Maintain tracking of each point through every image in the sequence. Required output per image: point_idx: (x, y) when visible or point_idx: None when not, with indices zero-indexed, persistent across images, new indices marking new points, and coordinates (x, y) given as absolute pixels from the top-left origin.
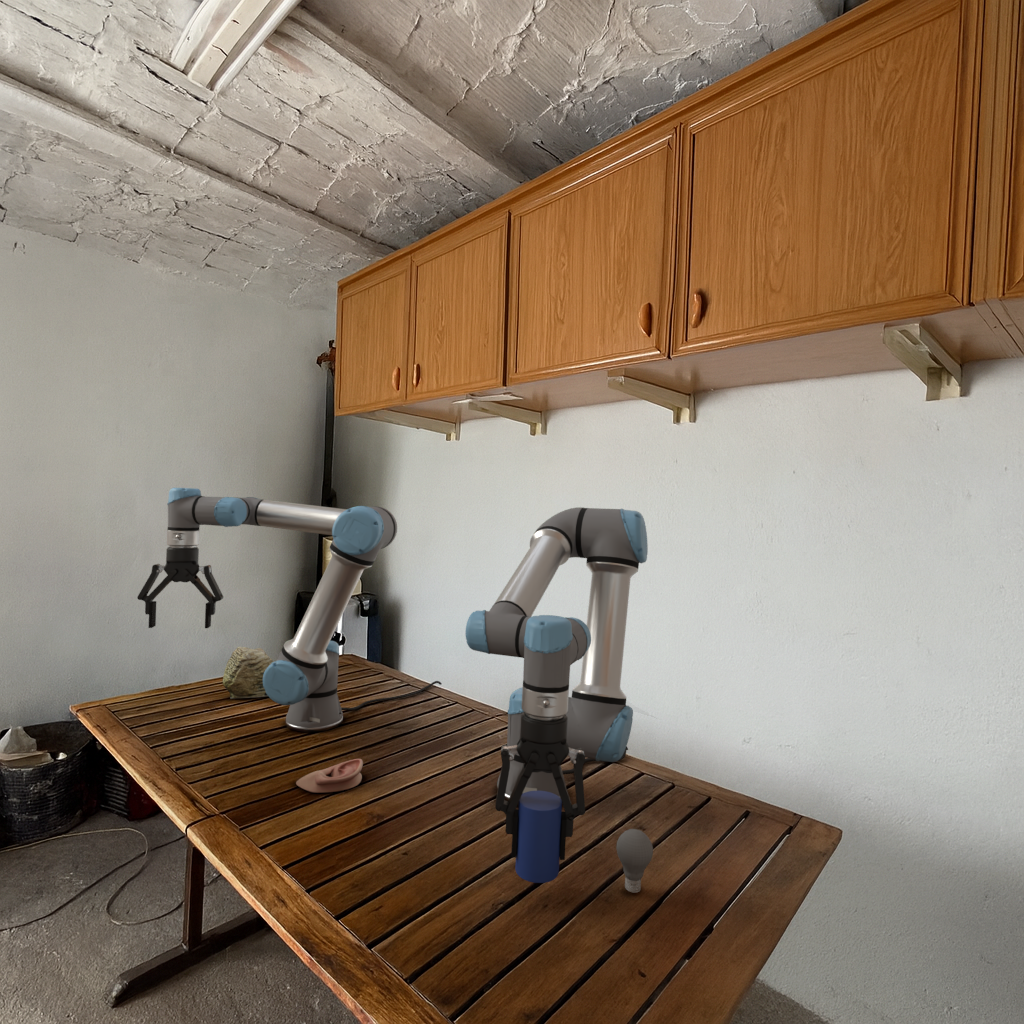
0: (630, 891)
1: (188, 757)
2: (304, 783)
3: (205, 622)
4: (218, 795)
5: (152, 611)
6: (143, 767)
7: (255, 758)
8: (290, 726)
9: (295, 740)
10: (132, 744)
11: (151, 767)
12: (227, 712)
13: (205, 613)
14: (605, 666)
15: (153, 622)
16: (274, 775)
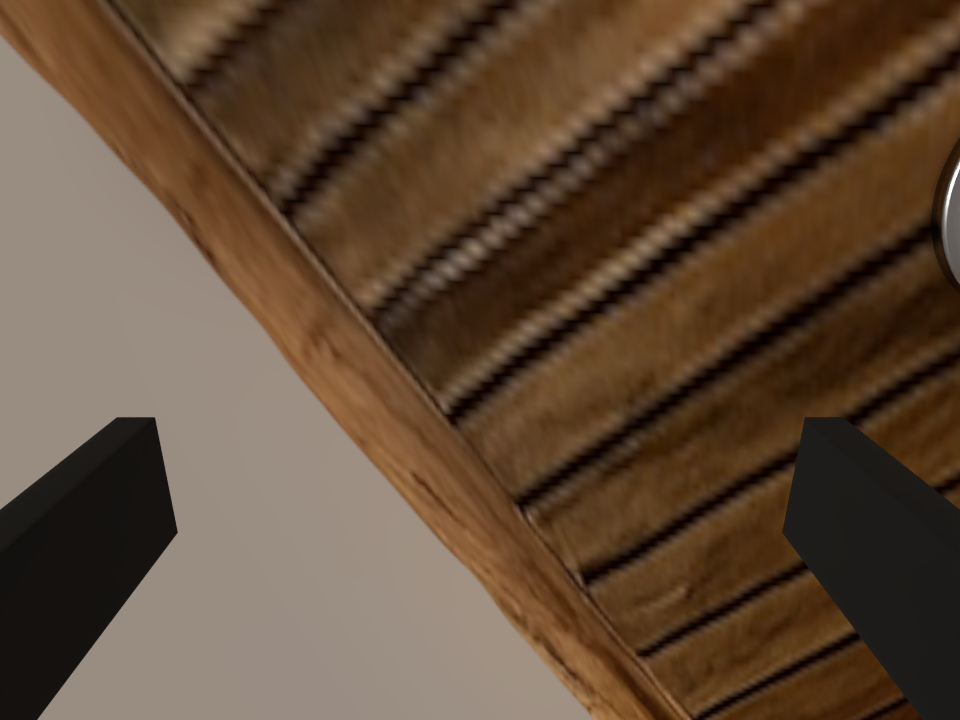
0: None
1: (597, 503)
2: None
3: (825, 583)
4: (724, 714)
5: (45, 695)
6: (484, 560)
7: None
8: (954, 280)
9: (950, 387)
10: (372, 386)
11: (508, 562)
12: (653, 2)
13: (899, 684)
14: None
15: (139, 519)
16: None
